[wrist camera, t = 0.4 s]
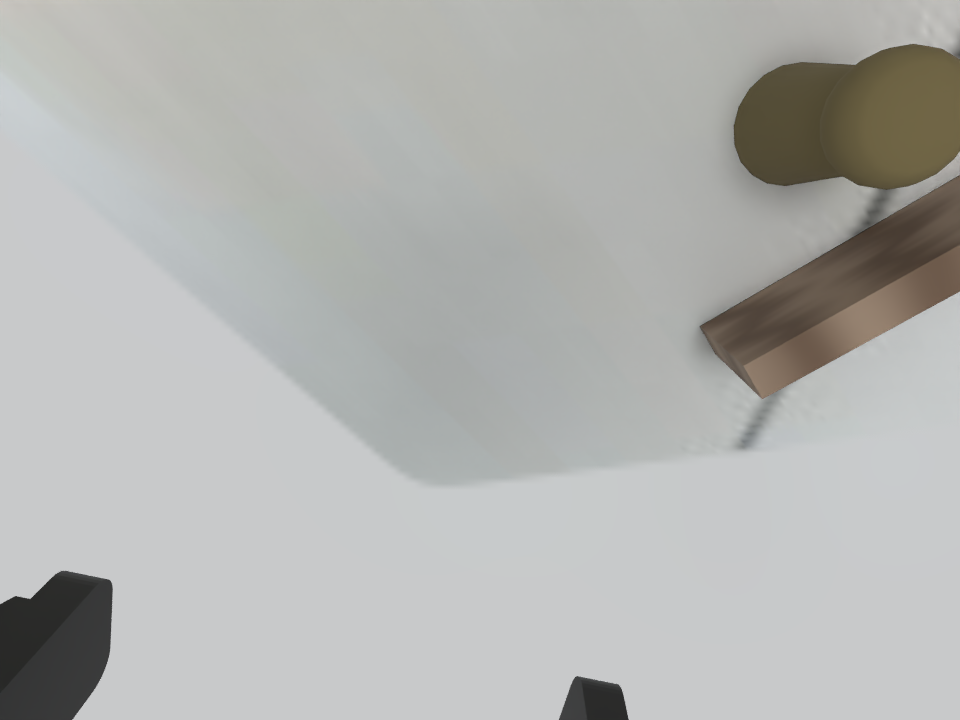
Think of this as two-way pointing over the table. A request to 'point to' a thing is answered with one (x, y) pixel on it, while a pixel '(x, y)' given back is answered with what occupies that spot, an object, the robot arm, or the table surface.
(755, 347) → the wooden block
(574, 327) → the table surface
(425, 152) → the table surface
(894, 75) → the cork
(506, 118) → the table surface
